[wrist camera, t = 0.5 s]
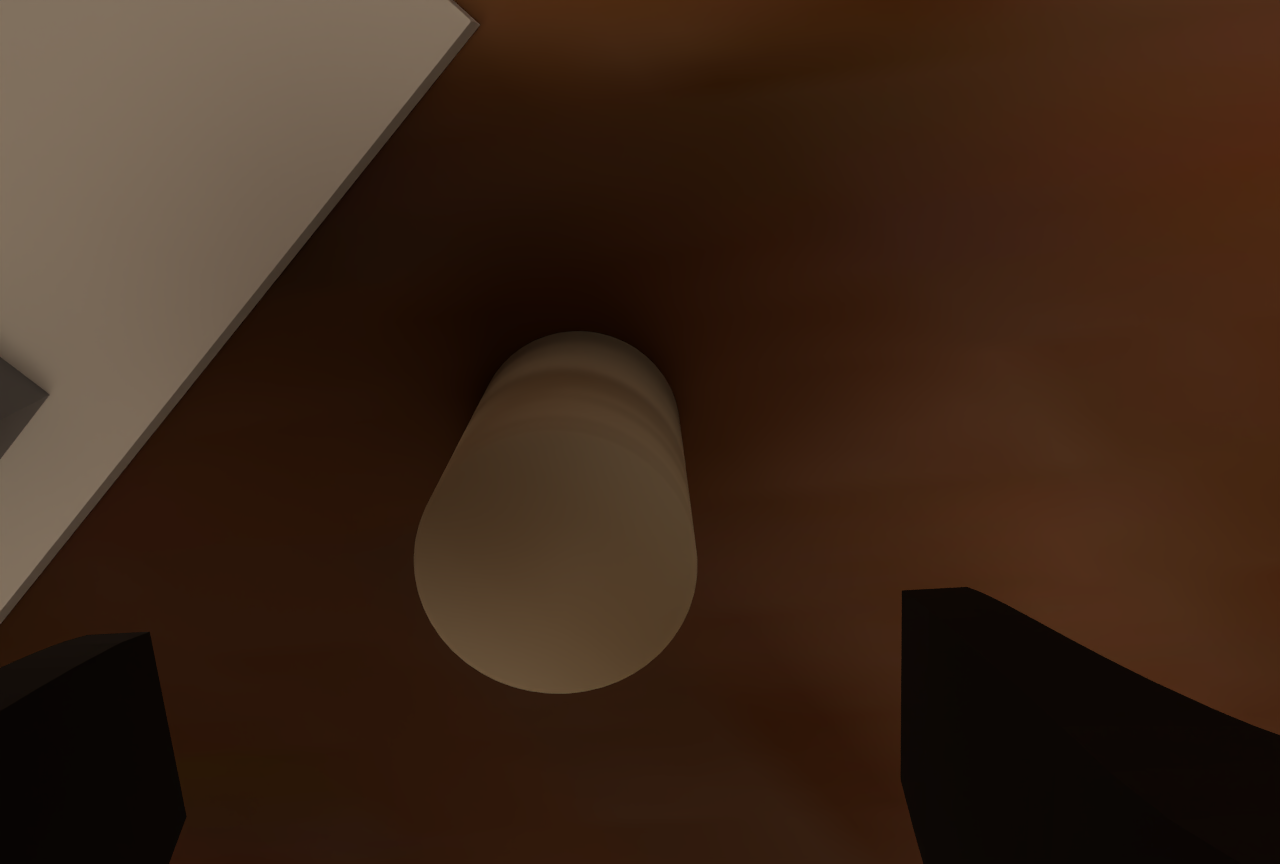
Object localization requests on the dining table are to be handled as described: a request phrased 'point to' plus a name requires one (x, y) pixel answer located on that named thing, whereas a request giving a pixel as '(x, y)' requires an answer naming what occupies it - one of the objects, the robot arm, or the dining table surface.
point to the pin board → (165, 208)
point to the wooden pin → (562, 520)
